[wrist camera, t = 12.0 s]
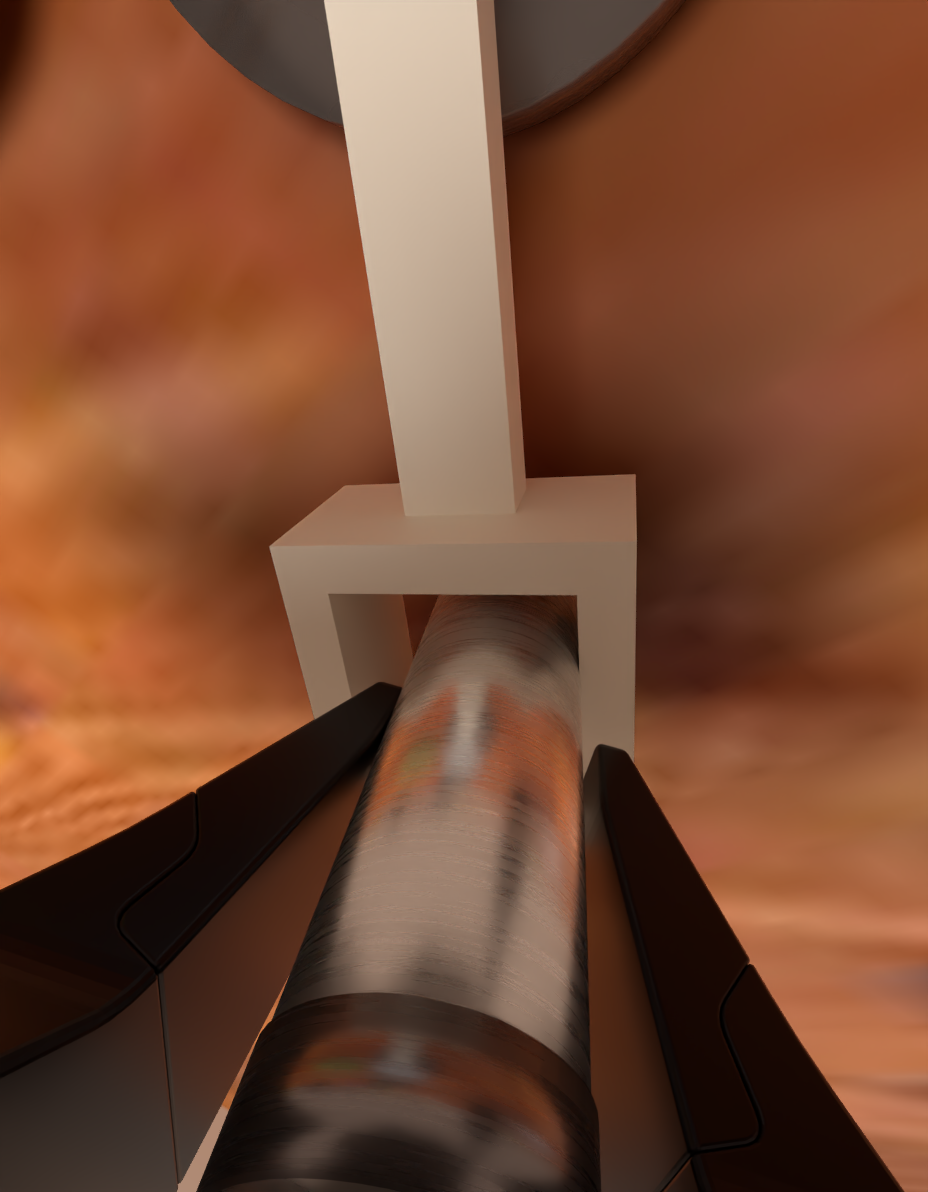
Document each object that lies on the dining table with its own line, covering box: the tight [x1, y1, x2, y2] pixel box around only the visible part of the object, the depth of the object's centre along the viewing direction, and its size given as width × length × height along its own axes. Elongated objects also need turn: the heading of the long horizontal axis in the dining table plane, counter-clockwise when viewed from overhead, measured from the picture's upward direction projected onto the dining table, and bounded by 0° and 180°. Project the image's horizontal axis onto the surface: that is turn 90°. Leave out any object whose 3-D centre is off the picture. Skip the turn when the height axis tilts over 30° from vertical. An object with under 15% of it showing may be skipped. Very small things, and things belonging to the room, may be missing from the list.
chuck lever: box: [269, 0, 637, 779], centre depth 9 cm, size 19×7×3 cm, turn 6°
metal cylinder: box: [196, 594, 601, 1192], centre depth 8 cm, size 3×3×9 cm
